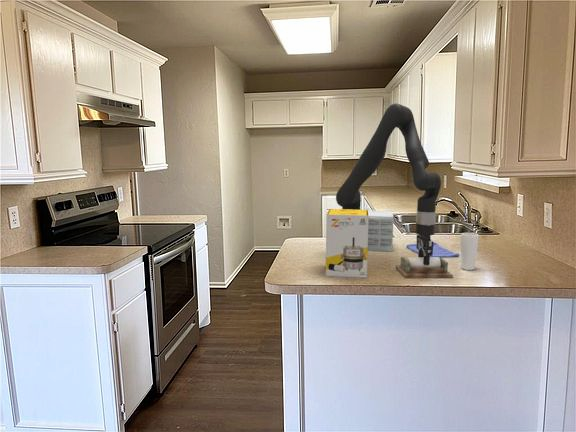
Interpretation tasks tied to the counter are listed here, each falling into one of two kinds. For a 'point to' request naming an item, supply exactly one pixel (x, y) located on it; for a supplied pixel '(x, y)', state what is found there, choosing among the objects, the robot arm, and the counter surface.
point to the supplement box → (380, 231)
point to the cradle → (424, 270)
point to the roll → (418, 262)
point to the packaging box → (346, 243)
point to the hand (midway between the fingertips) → (423, 262)
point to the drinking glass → (469, 250)
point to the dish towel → (436, 251)
